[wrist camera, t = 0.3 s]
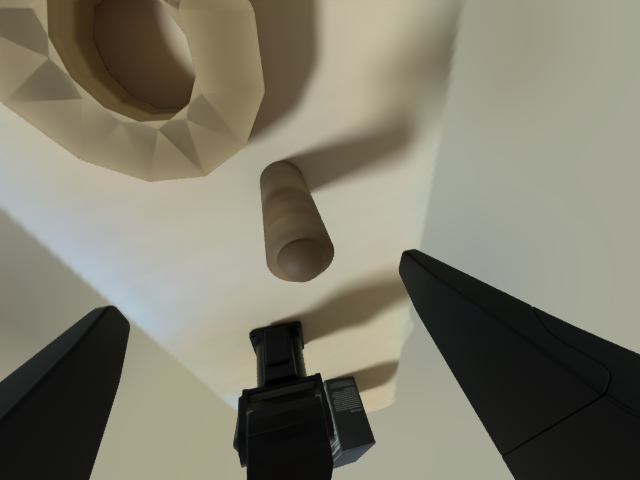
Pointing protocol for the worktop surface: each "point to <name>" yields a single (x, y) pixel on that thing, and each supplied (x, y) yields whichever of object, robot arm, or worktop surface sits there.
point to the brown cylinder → (292, 225)
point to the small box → (347, 421)
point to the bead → (116, 103)
